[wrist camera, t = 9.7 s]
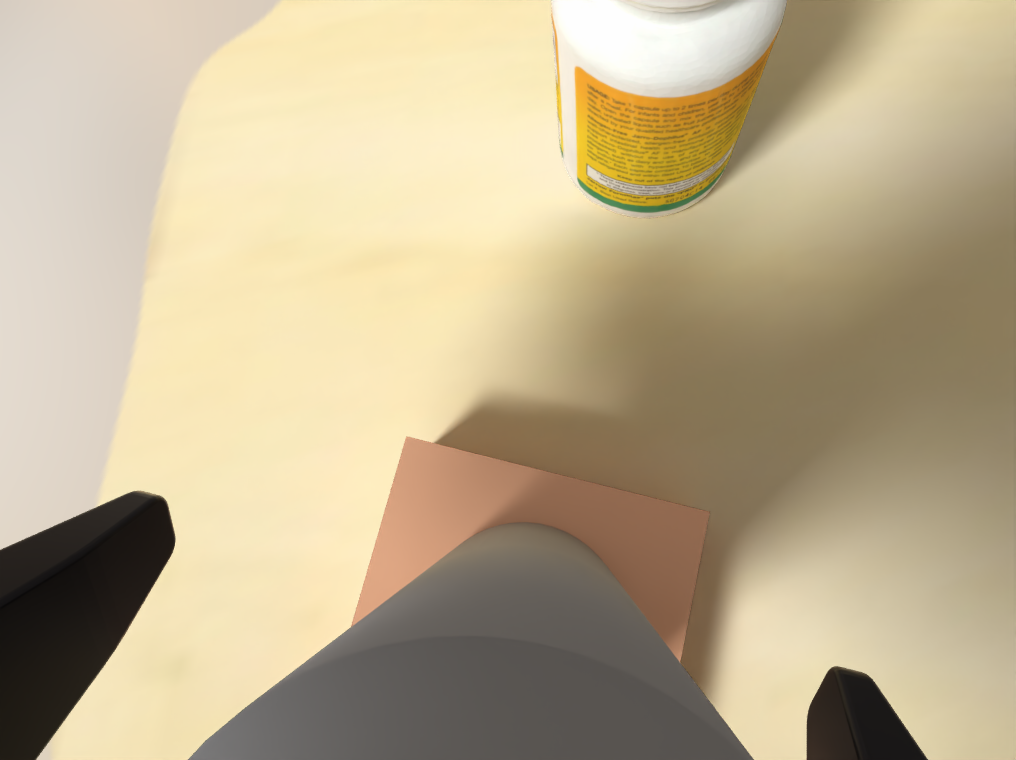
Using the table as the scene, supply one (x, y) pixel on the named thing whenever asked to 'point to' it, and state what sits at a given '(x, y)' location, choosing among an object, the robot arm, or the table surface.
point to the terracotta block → (535, 499)
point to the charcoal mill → (490, 671)
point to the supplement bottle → (656, 94)
